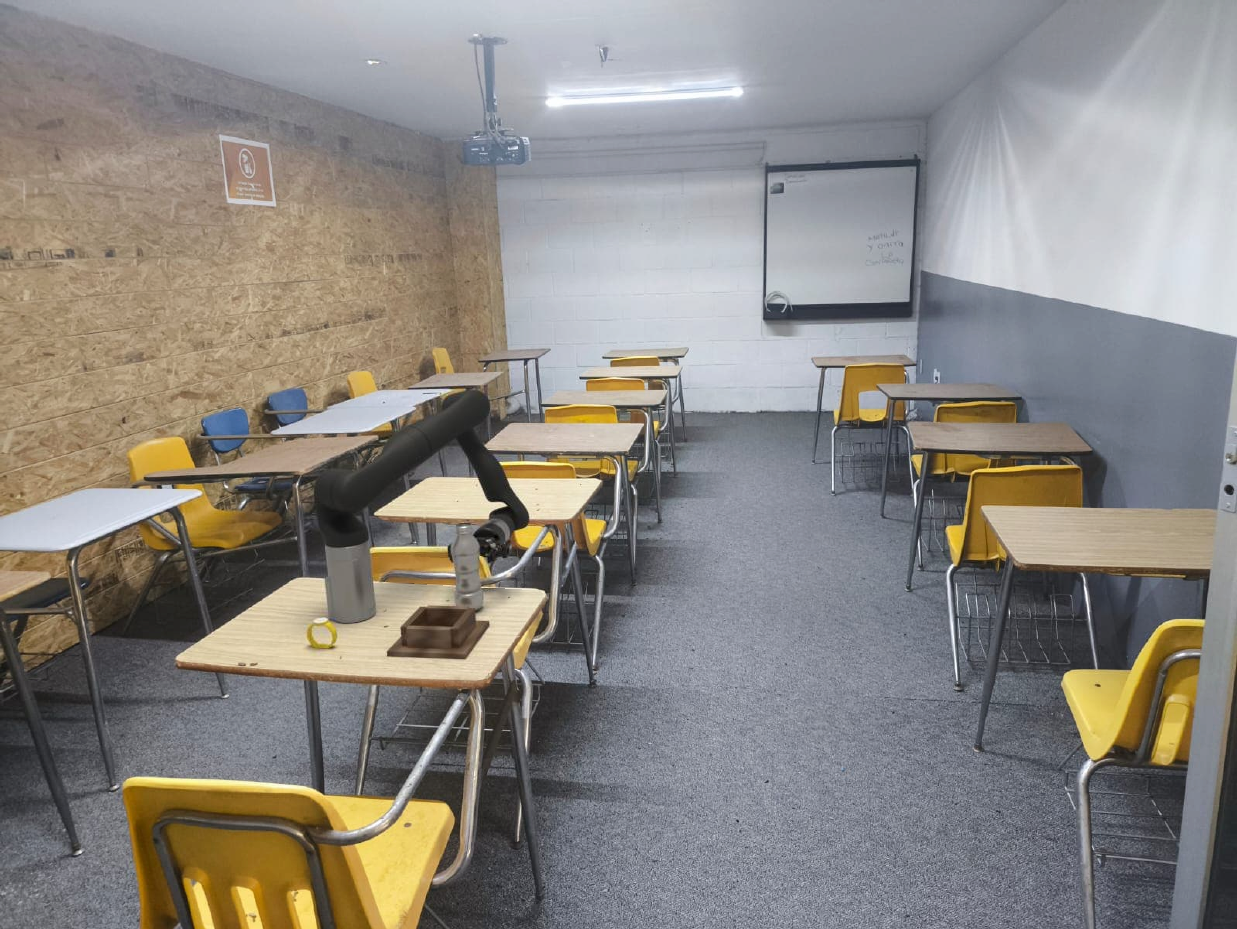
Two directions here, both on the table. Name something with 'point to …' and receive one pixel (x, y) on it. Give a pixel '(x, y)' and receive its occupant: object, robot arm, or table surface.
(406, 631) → the bottle rack
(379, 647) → the table surface
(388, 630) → the table surface
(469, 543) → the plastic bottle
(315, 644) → the watch
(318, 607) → the table surface
